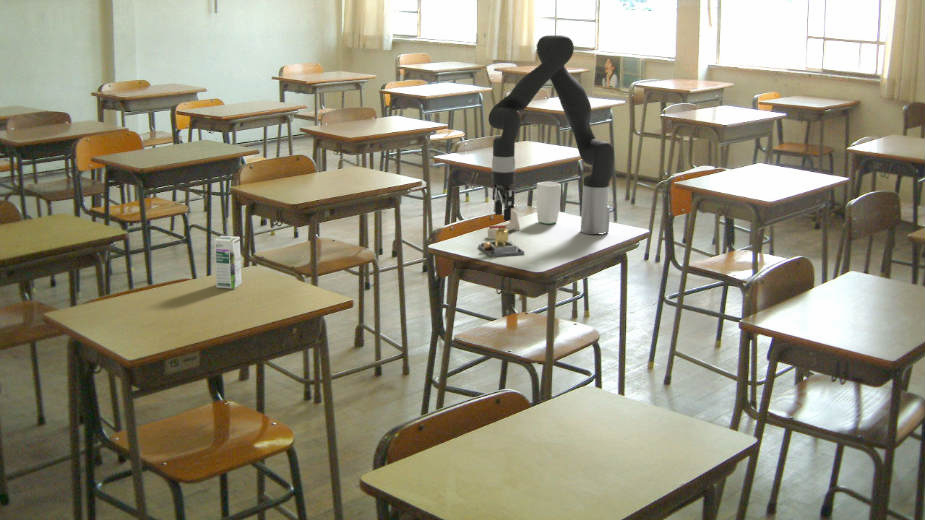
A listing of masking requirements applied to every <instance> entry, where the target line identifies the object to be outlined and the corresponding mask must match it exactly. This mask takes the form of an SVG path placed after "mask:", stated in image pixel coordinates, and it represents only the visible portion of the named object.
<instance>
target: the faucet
mask: <svg viewBox="0 0 925 520" xmlns="http://www.w3.org/2000/svg"><path fill="white" fill-rule="evenodd" d="M502 214H503V215H504V211H502ZM502 214H501V215H502ZM519 222H520V221H519V218H518V212H517V211H516V209H515V208H513V209H511V220H509V223H507V224H504V225H505V226H506V230H508V232H509V231H518V230H520V228H521V227H520V223H519ZM496 229H498V228H491V229H490V228H489V227H488V230H487V238H488V239H490V240H491V239H492V240H495V230H496Z"/></svg>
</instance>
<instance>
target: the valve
mask: <svg viewBox="0 0 925 520" xmlns="http://www.w3.org/2000/svg"><path fill="white" fill-rule="evenodd" d="M505 225H506V224H503V225H489V226H488V229H489V228H490V229H491V228H498V229H496V230H495V239H494V241H495V247H499V246H508V240H509V231H508V230H506V226H505Z"/></svg>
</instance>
